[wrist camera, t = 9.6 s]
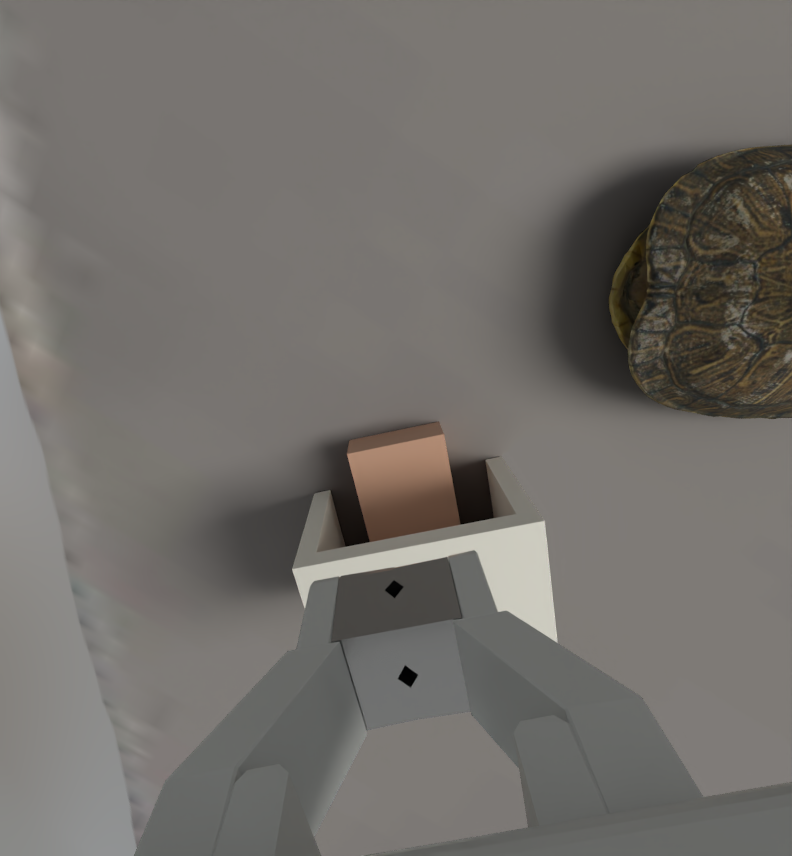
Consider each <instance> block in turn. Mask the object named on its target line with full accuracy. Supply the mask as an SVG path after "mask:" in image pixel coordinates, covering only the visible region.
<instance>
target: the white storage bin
mask: <svg viewBox="0 0 792 856" xmlns="http://www.w3.org/2000/svg"><path fill="white" fill-rule="evenodd" d="M485 461H486V468H487V475H488V482H489V489H490V495H491V502H492V509H493V516H494V518H493V519H488V520H483V521H477V522H472V523H467V524H462V525H457V526H451V527H446V528H441V529H436V530H431V531H425V532H420V533H415V534H410V535H405V536H399V537H394V538H389V539H384V540H379V541H373V542H368V543H363V544H358V545H353V546H347V547H346V546H345V543H344V539H343V535H342V532H341V528H340V524H339V521H338V517H337V513H336V510H335V506H334V502H333V499H332V495H331V491H330V490H328V491H323V492H318V493H314V496H313V500H312V503H311V506H310V510H309V513H308V517H307V520H306V523H305V527H304V530H303V534H302V537H301V540H300V544H299V547H298V551H297V554H296V557H295V561H294V564H293V568H292V571H293V574H294V577H295V580H296V583H297V586H298V589H299V592H300V595H301V599H302V602H303V605H304V608H305V607H306V602H307V598H308V593H309V589H310V586H311V584H312V583H313V582H314V581H317V580H322V579H327V578H332V577H338V576H339V577H341V576H343V575H349V574H355V573H361V572H367V571H373V570H379V569H385V568H391V567H394V568H395V567H400V566H405V565H410V564H415V563H420V562H424V561H429V560H434V559H439V558H444V557H448V556H450V555H455V554H459V553H464V552H468V551H472V550H475V551H476V552H477V554H478V556H479V559H480V562H481V565H482V568H483V571H484V574H485V576H486V579H487V582H488V585H489V588H490V591H491V593H492V596H493V599H494V602H495V605H496V608H497V610H498V612H501V611H508V612H510V613H512V614H513V615H515V616H516V617H518V618H519V619H521V620H522V621H524V622H526V623H527V624H529V625H530V626H532V627H533V628H535V629H536V630H538V631H540V632H541V633H543V634H544V635H546V636H547V637H549V638H551V639H552V640H554V641H555V642H557V633H556V624H555V614H554V605H553V595H552V586H551V576H550V567H549V558H548V548H547V539H546V529H545V521H544V519H543V518H542V516H541V515H540V513H539V512H538V510H537V509H536V507H535V506H534V504H533V503H532V501H531V500H530V498H529V497H528V495H527V494H526V492H525V491H524V489H523V488H522V486H521V485H520V483H519V482H518V480H517V479H516V477H515V476H514V474H513V473H512V471H511V470H510V468H509V467H508V465H507V464H506V462H505V461H504V459H503V458H502V456H501V457H496V458H491V459H486V460H485Z"/></svg>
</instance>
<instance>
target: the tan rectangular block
mask: <svg viewBox="0 0 792 856" xmlns="http://www.w3.org/2000/svg"><path fill="white" fill-rule="evenodd" d="M347 456H348V460H349V464H350V468H351V472H352V475H353V479H354V483H355V487H356V491H357V494H358V498H359V502H360V506H361V510H362V514H363V517H364V521H365V525H366V529H367V533H368V537H369V540H370V542H373V541H379V540H384V539H389V538H394V537H399V536H405V535H410V534H415V533H420V532H425V531H431V530H436V529H441V528H446V527H451V526H457V525H461V524H460V519H459V513H458V508H457V503H456V497H455V492H454V486H453V481H452V475H451V470H450V465H449V459H448V454H447V448H446V443H445V437H444V433H443V431H442V428H441V426H440V423H439V422H435V423H430V424H425V425H420V426H415V427H411V428H406V429H401V430H396V431H391V432H387V433H382V434H377V435H372V436H367V437H363V438H358V439H353V440H349V445H348V451H347Z"/></svg>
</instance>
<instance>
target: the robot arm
mask: <svg viewBox="0 0 792 856" xmlns="http://www.w3.org/2000/svg"><path fill="white" fill-rule="evenodd" d="M465 712H471V715H472V716H473V717H474V718H475V719H476V720H477V721H478V723H479V724H480V725H481V726H482V727H483V728H484V729H485V730H486V732H487V733H488V734H489V735H490V736H491V737H492V738H493V740H494V741H495V742H496V743H497V744H498V745H499V746H500V748H501V749H502V750H503V751H504V752H505V753H506V754H507V756H508V757H509V758H510V759H511V760H512V761H513V762H514V764H515V765H516V766H517V767H518V768H519V771H520V778H521V785H522V791H523V798H524V804H525V811H526V817H527V824H528V828H523V829H517V830H511V831H505V832H500V833H494V834H488V835H482V836H476V837H470V838H464V839H459V840H453V841H447V842H441V843H435V844H429V845H423V846H417V847H412V848H406V849H400V850H394V851H388V852H382V853H376V854H370V855H365V856H792V782H789V783H783V784H777V785H771V786H766V787H760V788H754V789H748V790H742V791H736V792H730V793H725V794H719V795H713V796H707V797H703V795H702V794H701V792H700V790H699V789H698V787H697V786H696V784H695V782H694V781H693V779H692V777H691V776H690V774H689V773H688V771H687V769H686V768H685V766H684V764H683V763H682V761H681V760H680V758H679V756H678V755H677V753H676V751H675V750H674V748H673V747H672V745H671V743H670V742H669V740H668V738H667V737H666V735H665V734H664V732H663V730H662V729H661V727H660V726H659V724H658V722H657V721H656V719H655V717H654V716H653V714H652V713H651V711H650V709H649V708H648V706H647V704H646V703H645V701H644V700H643V698H642V697H641V696H640V695H638V694H636V693H635V692H633V691H632V690H630V689H629V688H627V687H625V686H624V685H622V684H621V683H619V682H618V681H616V680H615V679H613V678H611V677H610V676H608V675H607V674H605V673H604V672H602V671H600V670H599V669H597V668H596V667H594V666H593V665H591V664H590V663H588V662H586V661H585V660H583V659H582V658H580V657H579V656H577V655H576V654H574V653H572V652H571V651H569V650H568V649H566V648H565V647H563V646H561V645H560V644H558V643H557V642H555V641H554V640H552V639H551V638H549V637H547V636H546V635H544V634H543V633H541V632H540V631H538V630H536V629H535V628H533V627H532V626H530V625H529V624H527V623H526V622H524V621H522V620H521V619H519V618H518V617H516V616H515V615H513V614H512V613H510V612H508V611H501V612H498V610H497V608H496V605H495V602H494V599H493V596H492V593H491V591H490V588H489V585H488V582H487V579H486V576H485V574H484V571H483V568H482V565H481V562H480V559H479V556H478V554H477V552H476V551H475V550H472V551H468V552H464V553H459V554H455V555H450V556H448V557H444V558H439V559H434V560H429V561H424V562H420V563H415V564H410V565H405V566H400V567H395V568H394V567H391V568H385V569H379V570H373V571H367V572H361V573H355V574H349V575H343V576H341V577H339V576H338V577H332V578H327V579H322V580H317V581H314V582H313V583H312V584H311V586H310V589H309V593H308V598H307V602H306V607H305V611H304V616H303V620H302V625H301V629H300V634H299V639H298V643H297V648H296V650H291V651H287V652H286V653H285V654H284V656H283V657H282V658H281V659H280V660H279V661H278V662H277V663H276V664H275V665H274V666H273V667H272V668H271V669H270V670H269V671H268V673H267V674H266V675H265V676H264V677H263V678H262V679H261V680H260V681H259V682H258V683H257V684H256V685H255V686H254V687H253V688H252V689H251V691H250V692H249V693H248V694H247V695H246V696H245V697H244V698H243V699H242V700H241V701H240V702H239V703H238V704H237V705H236V706H235V708H234V709H233V710H232V711H231V712H230V713H229V714H228V715H227V716H226V717H225V718H224V719H223V720H222V721H221V722H220V723H219V725H218V726H217V727H216V728H215V729H214V730H213V731H212V732H211V733H210V734H209V735H208V736H207V737H206V738H205V739H204V740H203V741H202V743H201V744H200V745H199V746H198V747H197V748H196V749H195V750H194V751H193V752H192V753H191V754H190V755H189V756H188V757H187V758H186V760H185V761H184V762H183V763H182V764H181V765H180V766H179V767H178V768H177V769H176V770H175V771H174V772H173V773H172V774H171V775H170V776H169V778H168V779H167V780H166V781H165V783H164V785H163V788H162V790H161V792H160V795H159V797H158V800H157V802H156V804H155V807H154V809H153V811H152V814H151V816H150V819H149V821H148V823H147V826H146V828H145V830H144V833H143V835H142V838H141V840H140V842H139V845H138V847H137V849H136V852H135V854H134V856H321V854H320V851H319V849H318V846H317V844H316V841H315V838H314V837H315V835H316V833H317V831H318V829H319V827H320V825H321V823H322V821H323V819H324V818H325V816H326V814H327V812H328V810H329V808H330V806H331V804H332V802H333V800H334V798H335V796H336V794H337V792H338V790H339V788H340V786H341V784H342V782H343V780H344V778H345V777H346V775H347V773H348V771H349V769H350V767H351V765H352V763H353V761H354V759H355V757H356V755H357V753H358V751H359V749H360V747H361V745H362V743H363V741H364V739H365V737H366V736H367V731H366V730H371V729H375V728H380V727H385V726H390V725H394V724H399V723H404V722H408V721H413V720H418V718H419V719H425V718H431V717H438V716H445V715H451V714H458V713H465Z"/></svg>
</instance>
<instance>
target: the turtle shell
mask: <svg viewBox="0 0 792 856" xmlns="http://www.w3.org/2000/svg"><path fill="white" fill-rule="evenodd" d="M609 310H610V314H611V317H612V323H613V325H614V327H615V329H616V331H617V333H618V336H619V338H620V340H621V341H622V343H623V344H624V345H625V347H626V348H627V349H628V354H627V355H628V364H629V368H630V372H631V375H632V377H633V378H634V380H635V382H636V383H637V385H638V386H639V387H640V388H641V390H642V391H643V392H644V393H645V395H647V396H648V397H650V398H651V399H653V400H654V401H656V402H658V403H660V404H663V405H665V406H667V407H670V408H673V409H677V410H682V411H687V412H693V413H698V414H702V415H707V416H713V417H715V416H723V417H730V418H768V419H776V418H792V145H781V146H767V147H755V148H748V149H742V150H737V151H733V152H729V153H726V154H722V155H719V156H716V157H714V158H712V159H709V160H707V161H705V162H703V163H700V164H698V165H697V167H696V168H695V169H694V170H693V171H692V172H690V173H688V174H686V175H684V176H682V177H681V178H680V179H679V180H678V181H677V182H676V183H675V184H674V185H673V186H672V187H671V188H670V189H669V190H668V191H667V192H666V193H665V195H664V196H663V198H662V200H661V201H660V203H659V205H658V207H657V208H656V211H655V213H654V216H653V218H652V220H651V223H650V226H648V227H647V228H646V229H645V230H644V231H643V232H642V233H641V234H640V235H639V236H638V237H637V239H636V240H635V242H634V243H633V245H632V246H631V248H630V249H629V251H628V252H627V253H626V254H625V255H624V257H623V259H622V261H621V263H620V265H619V267H618V268H617V270H616V272H615V274H614V277H613V282H612V289H611V292H610V296H609Z"/></svg>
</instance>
